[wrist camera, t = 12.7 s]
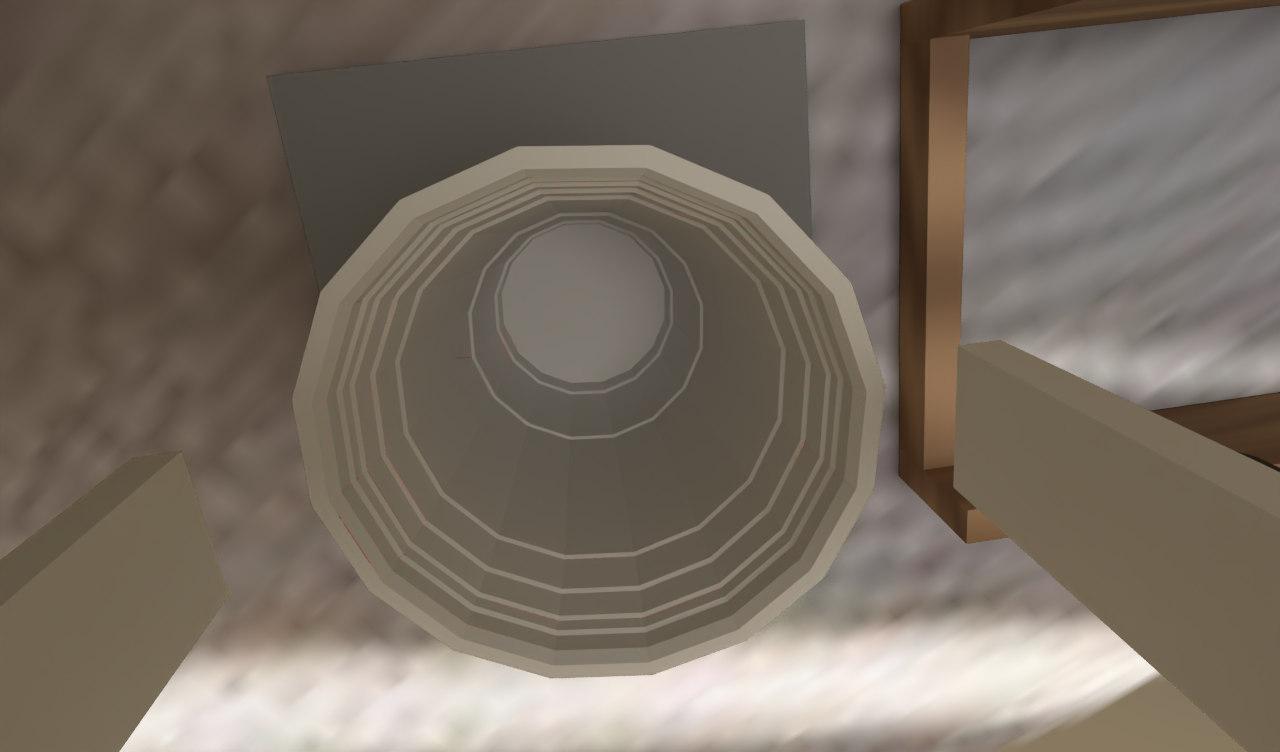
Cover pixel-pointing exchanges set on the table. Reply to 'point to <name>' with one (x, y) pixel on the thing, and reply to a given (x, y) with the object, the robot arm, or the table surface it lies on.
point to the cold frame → (934, 229)
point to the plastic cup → (589, 410)
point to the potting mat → (542, 119)
